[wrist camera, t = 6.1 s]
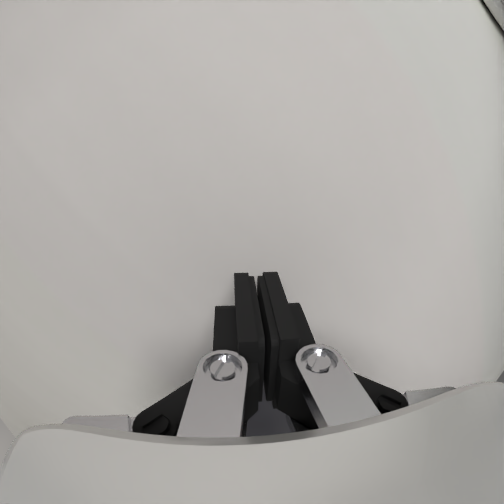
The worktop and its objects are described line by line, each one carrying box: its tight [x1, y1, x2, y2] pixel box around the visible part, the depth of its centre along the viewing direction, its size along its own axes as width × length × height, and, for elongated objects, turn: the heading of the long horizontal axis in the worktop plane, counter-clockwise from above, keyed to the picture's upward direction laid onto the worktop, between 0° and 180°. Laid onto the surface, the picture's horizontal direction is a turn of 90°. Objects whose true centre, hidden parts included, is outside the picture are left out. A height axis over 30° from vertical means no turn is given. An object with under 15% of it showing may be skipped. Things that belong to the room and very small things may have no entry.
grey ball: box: [247, 382, 291, 437], centre depth 12 cm, size 6×6×6 cm
